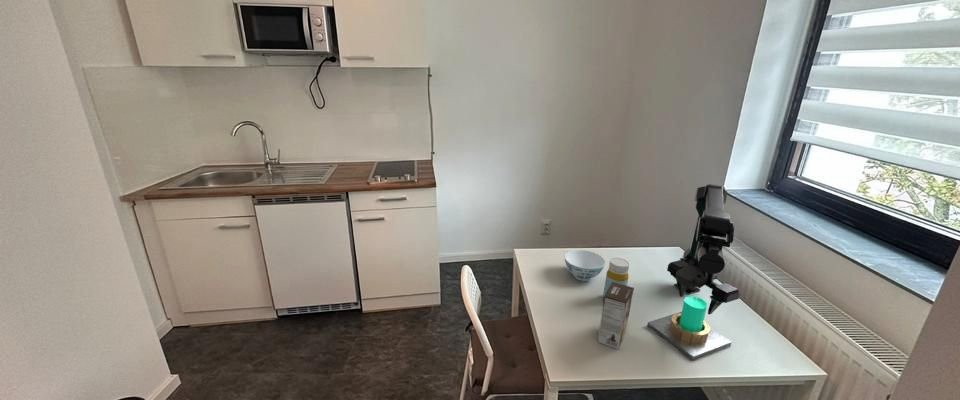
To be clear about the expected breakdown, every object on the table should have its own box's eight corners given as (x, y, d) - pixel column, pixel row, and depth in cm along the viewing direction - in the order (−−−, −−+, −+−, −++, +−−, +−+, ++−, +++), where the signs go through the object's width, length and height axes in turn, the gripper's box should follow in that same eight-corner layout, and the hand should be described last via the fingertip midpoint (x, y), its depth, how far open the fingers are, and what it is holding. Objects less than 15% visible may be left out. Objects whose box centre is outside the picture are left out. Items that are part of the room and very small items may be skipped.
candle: (698, 326, 115) (705, 293, 111) (703, 339, 110) (710, 305, 105) (676, 323, 117) (683, 290, 113) (680, 335, 111) (687, 301, 107)
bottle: (625, 307, 127) (632, 268, 122) (603, 304, 128) (609, 265, 123) (622, 296, 133) (628, 258, 128) (601, 293, 134) (607, 256, 129)
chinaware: (607, 274, 147) (609, 256, 145) (596, 291, 135) (598, 272, 133) (570, 263, 155) (572, 246, 152) (556, 279, 143) (558, 261, 140)
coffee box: (605, 325, 117) (612, 280, 112) (626, 332, 114) (634, 287, 109) (596, 342, 110) (604, 295, 105) (619, 350, 107) (627, 302, 102)
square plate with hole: (683, 314, 124) (686, 302, 122) (730, 346, 110) (734, 333, 108) (646, 326, 117) (649, 314, 116) (692, 361, 104) (695, 347, 102)
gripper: (658, 248, 110) (649, 294, 115) (718, 279, 94) (705, 331, 99) (685, 242, 114) (675, 286, 119) (747, 271, 98) (733, 321, 103)
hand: (694, 305), depth 110 cm, fingers open, 9 cm apart
